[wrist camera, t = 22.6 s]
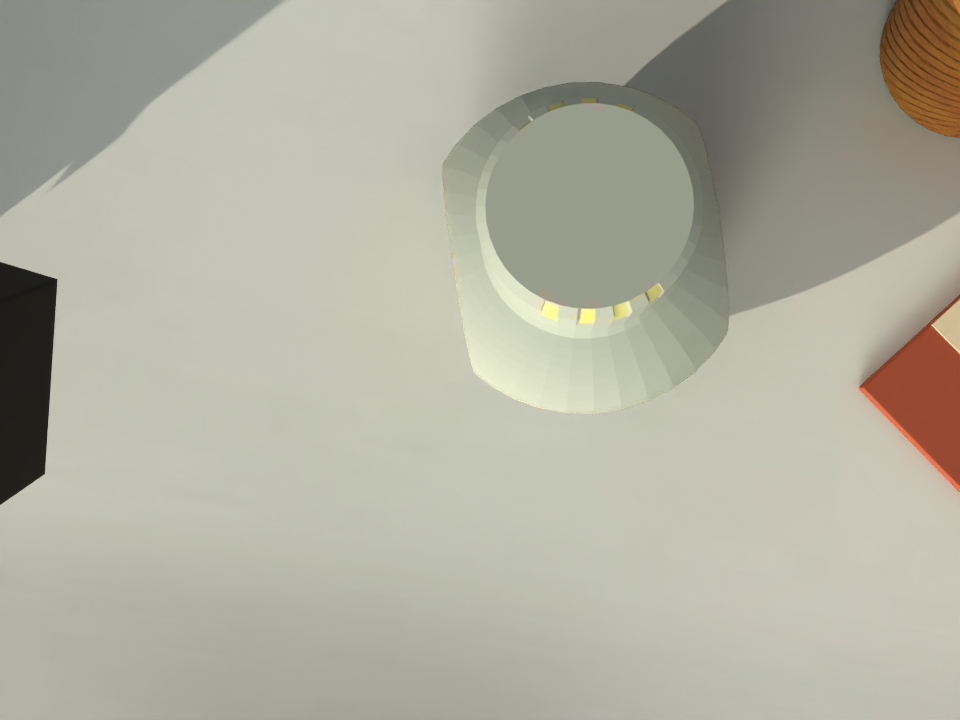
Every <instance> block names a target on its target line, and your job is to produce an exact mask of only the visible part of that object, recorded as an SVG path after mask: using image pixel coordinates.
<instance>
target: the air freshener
mask: <svg viewBox="0 0 960 720" xmlns="http://www.w3.org/2000/svg"><path fill="white" fill-rule="evenodd" d="M443 186H444V198H445V207H446V217H447V225H448V233H449V240H450V248H451V255H452V262H453V269H454V275H455V282H456V288H457V294H458V301H459V306H460V312H461V318H462V323H463V329H464V334H465V339H466V344H467V348H468V353H469V357H470V361H471V365H472V368H473V371H474V373H475V374H476V375H478V376H479V377H480V378H481V379H483V380H484V381H485V382H486V383H487V384H489V385H490V386H492V387H494V388H496V389H497V390H499V391H501V392H503V393H504V394H506V395H508V396H510V397H511V398H513V399H516V400H519V401H521V402H524V403H527V404H529V405H532V406H535V407H537V408H542V409H547V410H552V411H557V412H563V413H584V414H595V413H602V412H609V411H616V410H622V409H625V408H628V407H631V406H635V405H638V404H641V403H644V402H647V401H649V400H651V399H653V398H655V397H657V396H659V395H661V394H663V393H665V392H667V391H669V390H671V389H673V388H674V387H675V386H677V385H678V384H680V383H681V382H682V381H684V380H685V379H686V378H688V377H689V376H690V375H692V374H693V373H694V372H696V371H697V369H698V368H699V367H700V366H701V365H702V364H703V363H704V362H705V361H706V360H707V359H708V358H709V357H710V356H711V355H712V354H713V353H714V352H715V350H716V349H717V347H718V346H719V345H720V343H721V342H722V340H723V339H724V337H725V336H726V334H727V331H728V321H729V306H728V285H727V274H726V262H725V254H724V246H723V238H722V231H721V224H720V217H719V211H718V205H717V199H716V194H715V189H714V184H713V178H712V173H711V169H710V165H709V161H708V156H707V152H706V148H705V145H704V142H703V139H702V136H701V133H700V130H699V128H698V125H697V124H696V122H695V121H693V120H692V119H691V118H689V117H688V116H687V115H686V114H684V113H683V112H682V111H680V110H679V109H678V108H676V107H674V106H672V105H670V104H669V103H667V102H665V101H663V100H661V99H659V98H657V97H655V96H653V95H651V94H648V93H645V92H642V91H639V90H636V89H632V88H629V87H626V86H620V85H613V84H607V83H600V82H583V83H567V84H561V85H555V86H550V87H545V88H542V89H539V90H536V91H533V92H530V93H527V94H524V95H521V96H519V97H517V98H515V99H513V100H511V101H510V102H508V103H506V104H504V105H502V106H500V107H498V108H496V109H495V110H494V111H492V112H491V113H490V114H488V115H487V116H486V117H484V118H483V119H482V120H481V121H479V122H478V123H477V124H475V125H474V126H473V127H472V128H471V129H470V130H469V131H468V132H467V133H466V135H465V136H464V137H463V138H462V139H461V140H460V141H459V142H458V143H457V144H456V145H455V147H454V148H453V150H452V151H451V152H450V154H449V155H448V157H447V158H446V160H445V161H444V163H443Z"/></svg>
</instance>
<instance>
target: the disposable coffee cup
mask: <svg viewBox="0 0 960 720" xmlns="http://www.w3.org/2000/svg"><path fill="white" fill-rule="evenodd" d="M880 63H881V67H882V72H883V76H884V80H885V82H886V84H887V86H888V89H889V91H890V93H891V95H892V96H893V98H894V99H895V101H896V102H897V103H898V105H899V106H900V107H901V109H902V110H904V111H905V112H906V113H907V114H908V115H909V116H911V117H912V118H913V119H914V120H915V121H916V122H918V123H919V124H921V125H923V126H924V127H926V128H928V129H929V130H932V131H934V132H937V133H940V134H943V135H945V136H950V137H958V138H960V0H897V2H896V3H895V5H894V7H893V9H892V10H891V12H890V14H889V16H888V19H887V22H886V24H885V27H884V29H883V32H882V38H881V43H880Z"/></svg>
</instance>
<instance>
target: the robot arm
mask: <svg viewBox="0 0 960 720" xmlns="http://www.w3.org/2000/svg"><path fill="white" fill-rule="evenodd" d="M56 292H57V279H55V278H51V277H48V276H45V275H41V274H38V273H35V272H31V271H28V270H25V269H21V268H18V267H15V266H11V265H8V264H5V263H1V262H0V505H1V504H2V503H4V502H5V501H6V500H8V499H9V498H11V497H12V496H14V495H15V494H17V493H18V492H19V491H21V490H22V489H24V488H25V487H27V486H28V485H29V484H31V483H32V482H34V481H35V480H37V479H38V478H40V477H41V476H42V475H44V474H45V461H46V446H47V430H48V415H49V400H50V384H51V369H52V353H53V338H54V323H55V307H56Z"/></svg>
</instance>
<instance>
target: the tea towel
mask: <svg viewBox="0 0 960 720" xmlns="http://www.w3.org/2000/svg"><path fill="white" fill-rule="evenodd" d="M859 389H860V390H861V391H862V392H863V393H864V394H865V395H866V396H867V397H868V398H869V399H870V400H871V401H872V402H873V403H874V405H875V406H876V407H877V408H878V409H879V410H880V411H881V412H882V413H883V414H884V415H885V416H886V417H887V418H888V419H889V420H890V421H891V422H892V423H893V424H894V425H895V426H896V427H897V428H898V429H899V430H900V431H901V432H902V433H903V434H904V435H905V436H906V437H907V438H908V439H909V440H910V441H911V442H912V444H913V445H914V446H915V447H916V448H917V449H918V450H919V451H920V452H921V453H922V454H923V455H924V456H925V457H926V458H927V459H928V460H929V461H930V462H931V463H932V464H933V465H934V466H935V467H936V468H937V469H938V470H939V471H940V472H941V473H942V474H943V475H944V476H945V477H946V478H947V479H948V480H949V481H950V482H951V484H952V485H953V486H954V487H955V488H956V489H957V490H958V491H959V492H960V296H958V297H957V298H956V299H955V300H954V301H953V302H952V303H951V304H950V305H949V306H947V307H946V308H945V309H944V310H943V311H942V312H941V313H940V314H939V315H938V316H936V317H935V318H934V319H933V320H932V321H931V322H930V323H929V324H928V325H927V326H926V327H924V328H923V329H922V330H921V331H920V332H919V333H918V334H917V335H916V336H915V337H913V338H912V339H911V340H910V341H909V342H908V343H907V344H906V345H905V346H904V347H902V348H901V349H900V350H899V351H898V352H897V353H896V354H895V355H894V356H893V357H891V358H890V359H889V360H888V361H887V362H886V363H885V364H884V365H883V366H882V367H880V368H879V369H878V370H877V371H876V372H875V373H874V374H873V375H872V376H871V377H869V378H868V379H867V380H866V381H865V382H864V383H863V384H862V385H861V386H860V387H859Z"/></svg>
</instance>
